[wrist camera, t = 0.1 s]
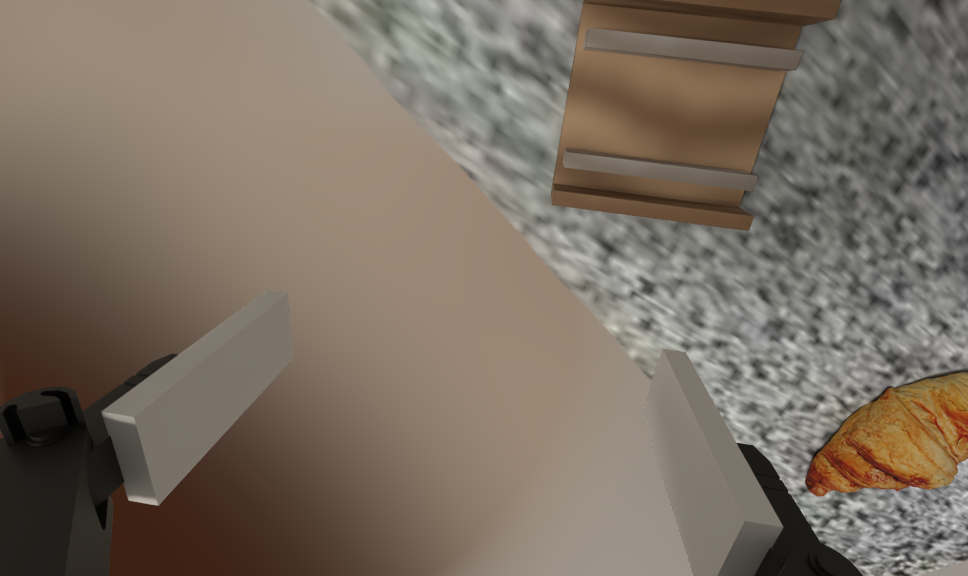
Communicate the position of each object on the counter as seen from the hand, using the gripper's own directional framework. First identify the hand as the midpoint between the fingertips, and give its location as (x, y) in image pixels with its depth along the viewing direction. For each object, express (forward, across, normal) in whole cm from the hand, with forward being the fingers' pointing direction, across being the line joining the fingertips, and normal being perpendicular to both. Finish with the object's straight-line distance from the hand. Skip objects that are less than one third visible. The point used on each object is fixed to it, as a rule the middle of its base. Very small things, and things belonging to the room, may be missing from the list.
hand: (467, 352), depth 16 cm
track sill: (+28, +12, +8) cm, 31 cm away
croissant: (+28, +43, -19) cm, 55 cm away
